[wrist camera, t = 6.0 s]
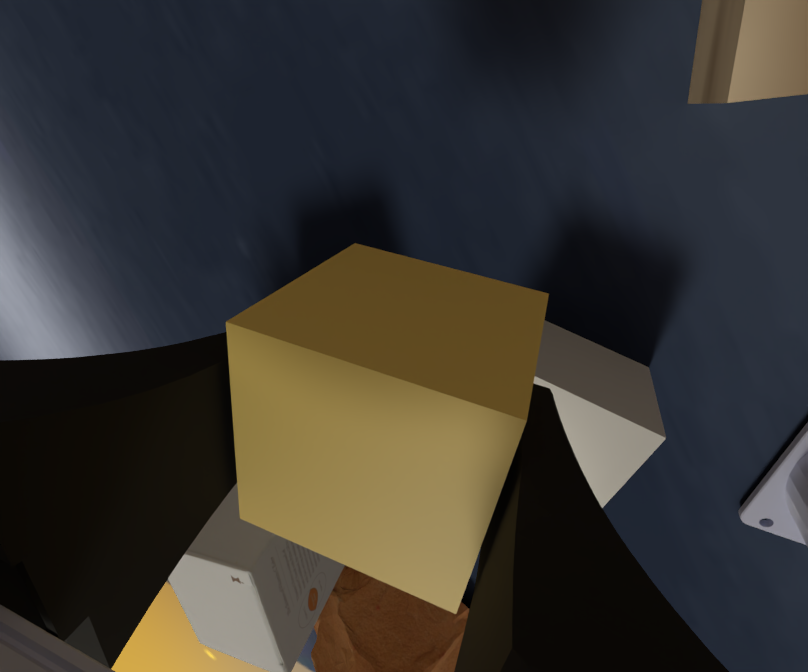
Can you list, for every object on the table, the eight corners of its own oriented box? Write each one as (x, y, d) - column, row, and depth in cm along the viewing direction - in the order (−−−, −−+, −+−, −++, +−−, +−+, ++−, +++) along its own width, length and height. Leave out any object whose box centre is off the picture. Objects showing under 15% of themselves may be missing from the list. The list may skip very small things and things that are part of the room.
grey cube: (648, 366, 19) (666, 438, 15) (589, 442, 22) (590, 521, 18) (541, 317, 20) (530, 374, 16) (496, 397, 23) (476, 462, 19)
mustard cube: (549, 293, 10) (527, 421, 6) (496, 448, 13) (456, 614, 9) (354, 242, 12) (225, 322, 7) (341, 394, 14) (240, 517, 10)
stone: (336, 607, 42) (244, 681, 34) (387, 486, 37) (296, 537, 29) (464, 751, 35) (386, 889, 27) (546, 622, 30) (483, 741, 22)
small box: (279, 405, 29) (144, 539, 20) (358, 416, 27) (247, 571, 18) (302, 497, 32) (196, 646, 23) (373, 513, 30) (287, 683, 21)
